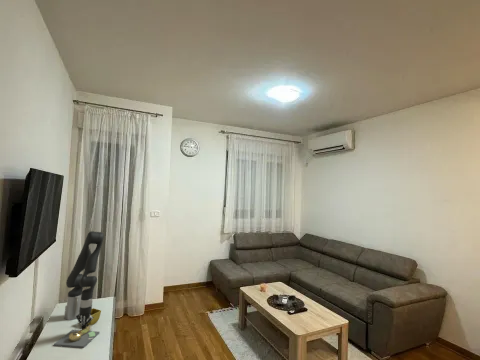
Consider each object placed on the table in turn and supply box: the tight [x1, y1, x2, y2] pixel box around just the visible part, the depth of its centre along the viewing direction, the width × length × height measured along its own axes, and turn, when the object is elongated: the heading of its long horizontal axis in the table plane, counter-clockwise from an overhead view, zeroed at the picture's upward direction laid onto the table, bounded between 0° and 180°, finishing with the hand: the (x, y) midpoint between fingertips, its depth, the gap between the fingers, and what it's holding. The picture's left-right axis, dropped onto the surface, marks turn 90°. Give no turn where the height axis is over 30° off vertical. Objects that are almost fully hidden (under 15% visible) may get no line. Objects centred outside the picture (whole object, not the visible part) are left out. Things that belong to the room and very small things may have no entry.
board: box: [53, 329, 100, 349], centre depth 166 cm, size 21×18×2 cm
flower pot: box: [86, 307, 102, 326], centre depth 186 cm, size 9×9×9 cm
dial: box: [69, 325, 93, 342], centre depth 168 cm, size 15×7×4 cm, turn 161°
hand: (83, 329), depth 173 cm, fingers closed
